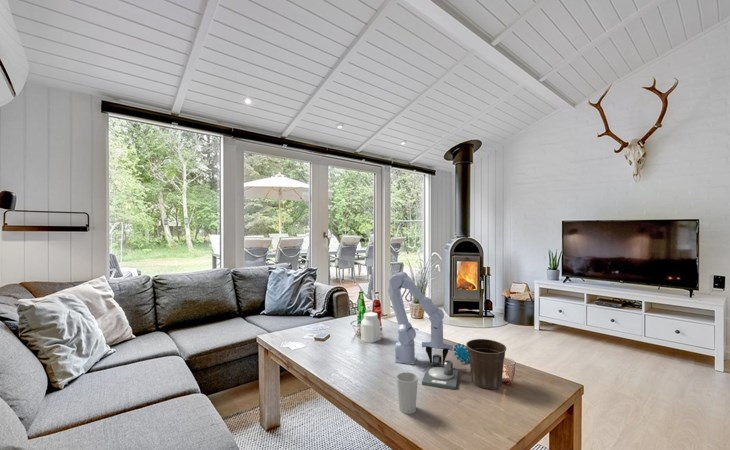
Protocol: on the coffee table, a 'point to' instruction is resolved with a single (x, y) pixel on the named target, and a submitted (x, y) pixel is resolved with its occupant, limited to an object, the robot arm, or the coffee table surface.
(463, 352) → the gear
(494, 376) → the plant pot
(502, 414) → the coffee table surface
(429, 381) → the scale
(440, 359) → the spacer
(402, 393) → the cup
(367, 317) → the jar
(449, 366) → the cylinder
